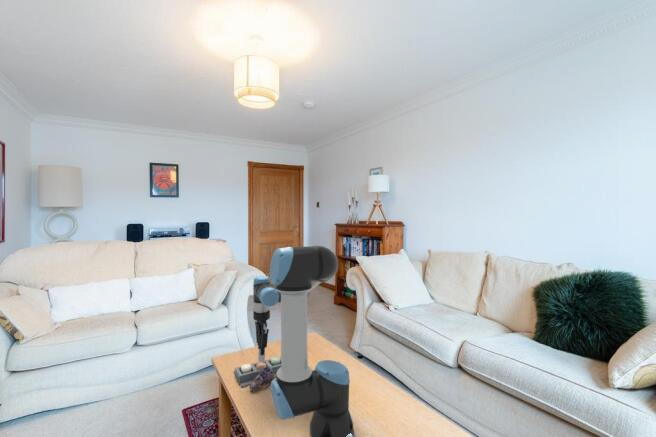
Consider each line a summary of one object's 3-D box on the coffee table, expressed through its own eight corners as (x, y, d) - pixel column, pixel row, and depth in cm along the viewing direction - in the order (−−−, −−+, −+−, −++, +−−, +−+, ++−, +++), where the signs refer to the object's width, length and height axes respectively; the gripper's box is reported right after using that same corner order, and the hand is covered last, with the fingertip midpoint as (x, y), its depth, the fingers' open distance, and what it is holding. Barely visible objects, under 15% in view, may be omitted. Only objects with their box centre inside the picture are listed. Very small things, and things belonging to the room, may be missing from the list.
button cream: (252, 372, 137) (252, 367, 137) (242, 375, 135) (242, 369, 135) (249, 368, 141) (249, 363, 141) (240, 370, 139) (240, 365, 139)
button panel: (289, 374, 141) (289, 366, 141) (241, 387, 130) (241, 379, 130) (278, 360, 153) (278, 353, 153) (233, 372, 142) (233, 364, 142)
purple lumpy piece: (254, 396, 125) (254, 382, 124) (243, 386, 130) (244, 373, 129) (277, 382, 134) (277, 370, 133) (266, 374, 139) (267, 362, 138)
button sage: (281, 364, 144) (281, 359, 144) (272, 367, 142) (272, 362, 142) (278, 360, 148) (278, 355, 148) (269, 362, 146) (269, 358, 146)
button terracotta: (267, 371, 141) (267, 366, 141) (258, 373, 138) (258, 368, 138) (264, 366, 144) (264, 361, 144) (255, 369, 142) (255, 364, 142)
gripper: (274, 313, 137) (274, 364, 137) (265, 305, 148) (264, 353, 148) (258, 315, 133) (257, 369, 133) (249, 307, 144) (249, 356, 145)
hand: (261, 360), depth 141 cm, fingers closed
